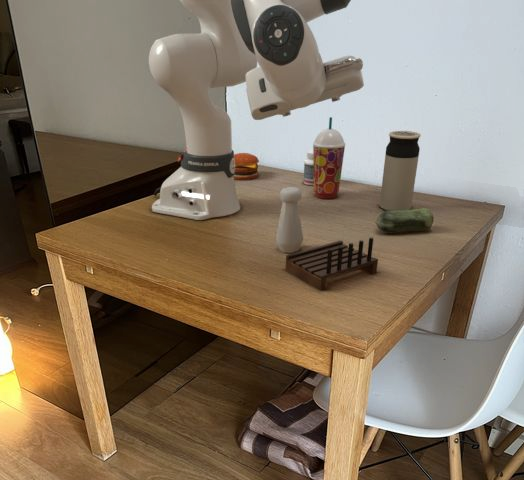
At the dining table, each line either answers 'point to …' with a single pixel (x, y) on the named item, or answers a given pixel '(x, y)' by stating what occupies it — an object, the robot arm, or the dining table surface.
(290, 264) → the drying rack
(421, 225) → the vegetable
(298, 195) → the salt shaker
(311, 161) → the pill bottle
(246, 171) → the hamburger
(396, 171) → the travel mug
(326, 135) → the smoothie
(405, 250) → the dining table surface
